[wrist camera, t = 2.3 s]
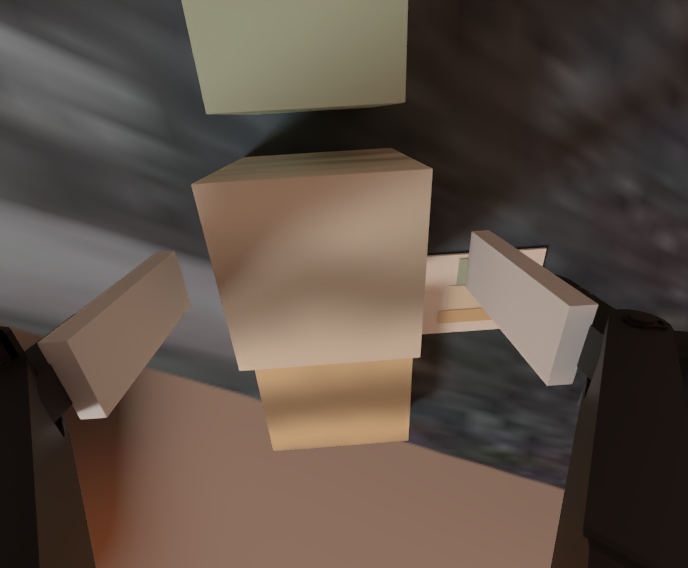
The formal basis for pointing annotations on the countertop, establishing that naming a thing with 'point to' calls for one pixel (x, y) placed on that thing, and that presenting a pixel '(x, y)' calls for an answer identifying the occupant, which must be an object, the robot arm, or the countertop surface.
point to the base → (337, 403)
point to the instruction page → (456, 295)
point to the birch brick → (319, 255)
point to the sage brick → (298, 54)
